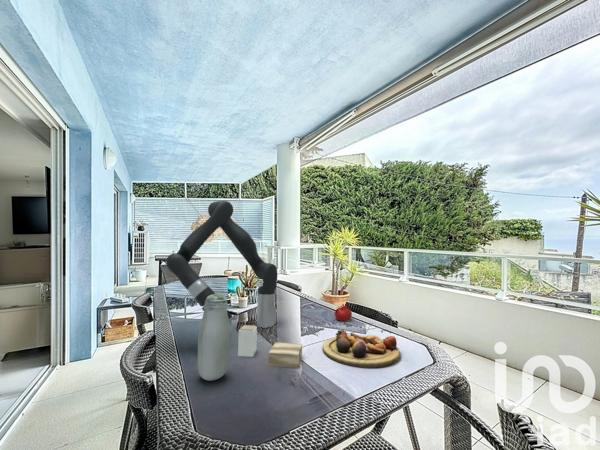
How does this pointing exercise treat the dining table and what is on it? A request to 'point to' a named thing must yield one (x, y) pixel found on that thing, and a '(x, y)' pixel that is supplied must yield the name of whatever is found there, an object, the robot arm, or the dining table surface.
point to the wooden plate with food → (361, 350)
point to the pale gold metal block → (285, 355)
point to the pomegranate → (343, 313)
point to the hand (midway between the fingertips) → (227, 321)
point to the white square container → (247, 341)
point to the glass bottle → (214, 338)
